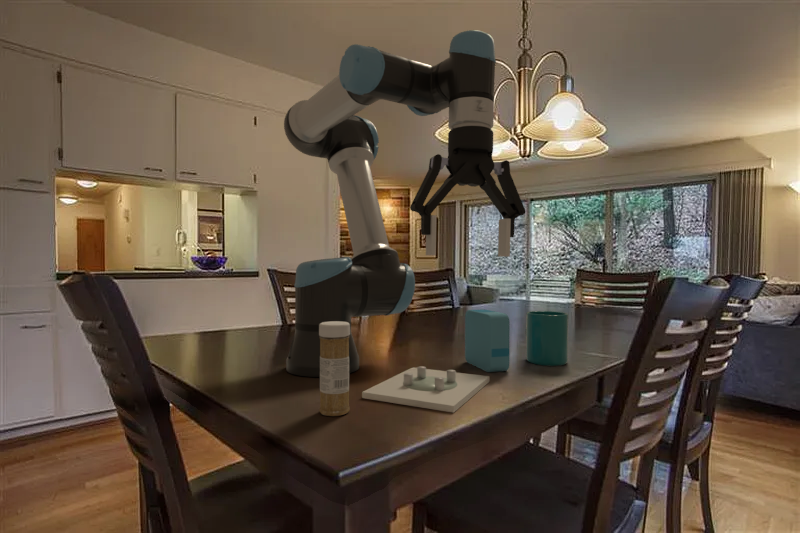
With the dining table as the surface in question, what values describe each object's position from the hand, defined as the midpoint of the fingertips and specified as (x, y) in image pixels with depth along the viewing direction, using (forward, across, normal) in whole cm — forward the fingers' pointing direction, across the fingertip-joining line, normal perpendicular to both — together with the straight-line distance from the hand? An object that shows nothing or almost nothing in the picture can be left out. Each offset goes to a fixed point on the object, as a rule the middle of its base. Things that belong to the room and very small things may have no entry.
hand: (468, 256), depth 77 cm
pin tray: (+24, -5, +4) cm, 25 cm away
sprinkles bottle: (+24, -23, -3) cm, 33 cm away
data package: (+24, +13, +18) cm, 33 cm away
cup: (+24, +29, +20) cm, 42 cm away
